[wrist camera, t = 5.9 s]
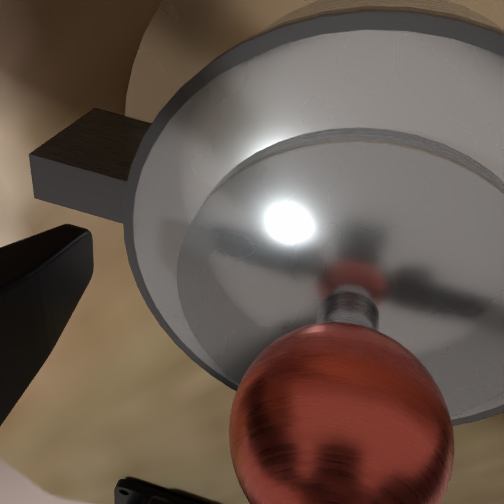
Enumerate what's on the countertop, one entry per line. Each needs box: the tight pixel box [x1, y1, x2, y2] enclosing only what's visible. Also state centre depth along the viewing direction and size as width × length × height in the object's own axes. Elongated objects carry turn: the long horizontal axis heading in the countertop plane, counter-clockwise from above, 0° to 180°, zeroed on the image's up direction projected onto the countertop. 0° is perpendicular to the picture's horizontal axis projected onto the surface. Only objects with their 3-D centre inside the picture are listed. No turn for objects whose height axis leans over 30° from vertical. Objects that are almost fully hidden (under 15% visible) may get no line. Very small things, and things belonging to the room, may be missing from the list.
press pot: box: [29, 0, 504, 426], centre depth 10 cm, size 12×12×4 cm
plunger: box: [177, 127, 504, 504], centre depth 7 cm, size 6×6×4 cm
